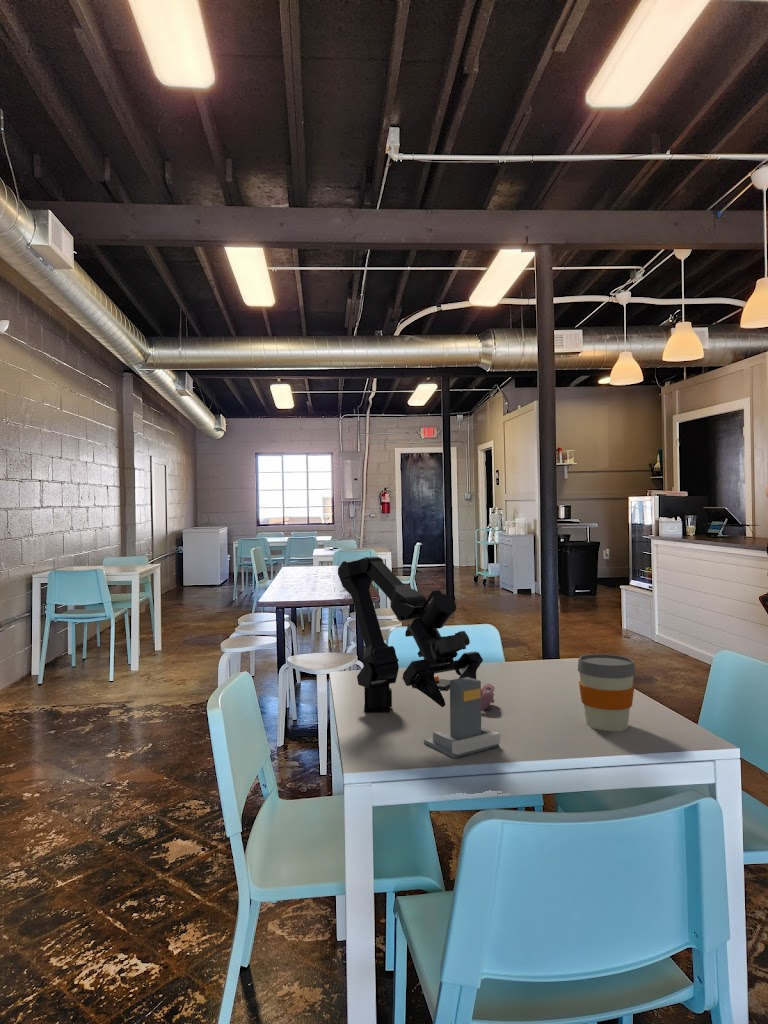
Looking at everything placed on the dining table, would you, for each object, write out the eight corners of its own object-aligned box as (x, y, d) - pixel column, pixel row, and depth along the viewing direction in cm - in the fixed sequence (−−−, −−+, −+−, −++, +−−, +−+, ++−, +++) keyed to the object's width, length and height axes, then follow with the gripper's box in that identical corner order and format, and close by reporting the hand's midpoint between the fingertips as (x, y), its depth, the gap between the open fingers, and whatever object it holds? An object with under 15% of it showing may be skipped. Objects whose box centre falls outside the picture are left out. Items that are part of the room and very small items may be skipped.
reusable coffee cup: (645, 724, 143) (644, 659, 144) (621, 738, 134) (620, 668, 135) (593, 713, 152) (592, 651, 152) (568, 725, 143) (567, 659, 144)
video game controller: (485, 720, 153) (498, 695, 152) (468, 710, 153) (481, 685, 153) (486, 708, 162) (498, 684, 162) (470, 699, 163) (482, 676, 163)
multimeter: (382, 686, 180) (382, 674, 180) (404, 677, 190) (404, 666, 190) (436, 696, 170) (436, 684, 170) (457, 686, 180) (457, 674, 180)
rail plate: (424, 743, 132) (424, 730, 132) (467, 732, 139) (467, 720, 139) (456, 759, 123) (456, 744, 123) (500, 746, 130) (500, 733, 130)
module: (450, 742, 130) (449, 680, 131) (468, 738, 133) (468, 676, 133) (463, 748, 127) (463, 684, 127) (482, 743, 129) (481, 681, 130)
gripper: (410, 623, 131) (443, 688, 121) (477, 615, 141) (512, 675, 132) (389, 654, 137) (419, 717, 128) (455, 644, 148) (487, 702, 138)
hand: (461, 702), depth 131 cm, fingers open, 9 cm apart
